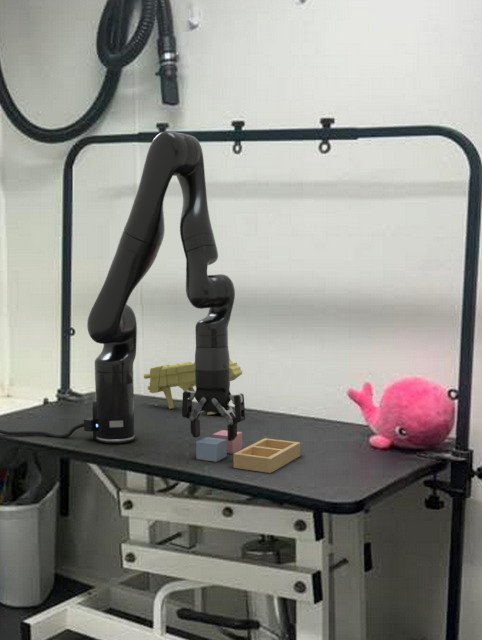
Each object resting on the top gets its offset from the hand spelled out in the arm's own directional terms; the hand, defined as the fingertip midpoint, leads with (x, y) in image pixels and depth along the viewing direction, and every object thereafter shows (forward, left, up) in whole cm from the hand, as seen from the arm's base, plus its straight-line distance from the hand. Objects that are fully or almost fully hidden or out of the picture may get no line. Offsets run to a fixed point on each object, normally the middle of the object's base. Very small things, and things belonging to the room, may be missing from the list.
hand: (213, 438), depth 208 cm
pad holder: (+12, +3, -4) cm, 13 cm away
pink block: (0, +8, -4) cm, 9 cm away
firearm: (-28, +42, -5) cm, 51 cm away
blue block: (0, 0, -4) cm, 4 cm away
